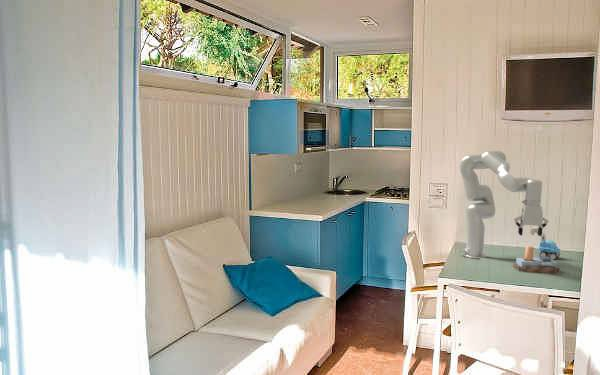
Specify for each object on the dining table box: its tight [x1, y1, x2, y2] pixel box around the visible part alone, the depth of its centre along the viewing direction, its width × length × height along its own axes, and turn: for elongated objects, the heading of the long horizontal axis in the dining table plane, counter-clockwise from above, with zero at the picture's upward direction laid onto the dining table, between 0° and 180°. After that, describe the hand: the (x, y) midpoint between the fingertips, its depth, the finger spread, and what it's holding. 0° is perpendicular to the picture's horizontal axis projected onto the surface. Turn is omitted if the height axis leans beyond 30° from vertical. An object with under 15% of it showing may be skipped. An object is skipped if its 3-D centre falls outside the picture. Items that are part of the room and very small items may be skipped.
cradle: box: [512, 262, 562, 275], centre depth 284 cm, size 21×13×4 cm, turn 86°
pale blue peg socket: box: [515, 255, 558, 271], centre depth 283 cm, size 18×14×7 cm
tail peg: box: [524, 245, 535, 261], centre depth 283 cm, size 4×4×10 cm
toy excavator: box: [529, 226, 561, 261], centre depth 317 cm, size 9×17×17 cm, turn 51°
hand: (529, 235), depth 282 cm, fingers open, 9 cm apart
